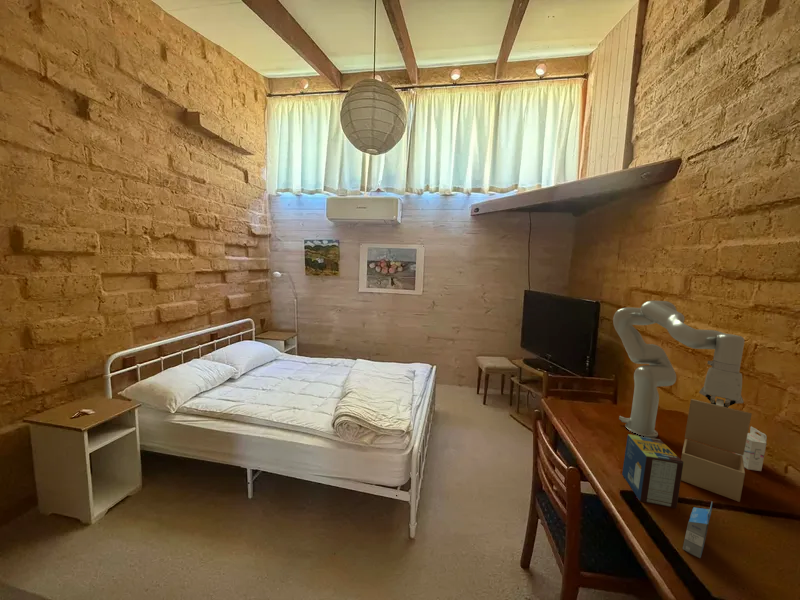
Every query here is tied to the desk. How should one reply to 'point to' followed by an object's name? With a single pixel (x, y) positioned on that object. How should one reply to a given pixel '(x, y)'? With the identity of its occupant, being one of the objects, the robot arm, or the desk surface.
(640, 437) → the protein box
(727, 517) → the desk surface
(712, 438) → the carton flap
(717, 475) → the carton
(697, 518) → the label tape box
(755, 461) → the ink cartridge box
